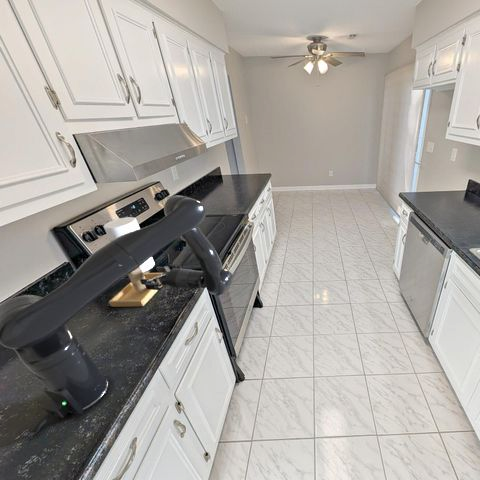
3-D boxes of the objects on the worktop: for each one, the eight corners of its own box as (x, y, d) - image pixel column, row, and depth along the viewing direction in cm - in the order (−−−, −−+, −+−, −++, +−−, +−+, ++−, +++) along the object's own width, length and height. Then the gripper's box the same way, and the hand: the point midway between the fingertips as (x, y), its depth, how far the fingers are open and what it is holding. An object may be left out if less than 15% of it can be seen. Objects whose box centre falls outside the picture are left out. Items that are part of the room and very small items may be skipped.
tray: (143, 306, 102) (140, 301, 100) (111, 306, 103) (108, 301, 101) (170, 277, 119) (168, 272, 118) (142, 277, 120) (140, 273, 119)
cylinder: (123, 268, 128) (100, 223, 116) (150, 258, 136) (131, 215, 124) (130, 277, 120) (106, 230, 109) (158, 265, 128) (139, 220, 117)
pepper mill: (143, 293, 108) (131, 270, 102) (133, 292, 109) (121, 269, 103) (152, 286, 112) (141, 263, 107) (142, 285, 113) (132, 263, 108)
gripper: (192, 260, 106) (159, 258, 109) (167, 281, 93) (131, 277, 97) (197, 275, 109) (165, 272, 113) (174, 297, 97) (139, 293, 100)
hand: (149, 275), depth 105 cm, fingers open, 8 cm apart
